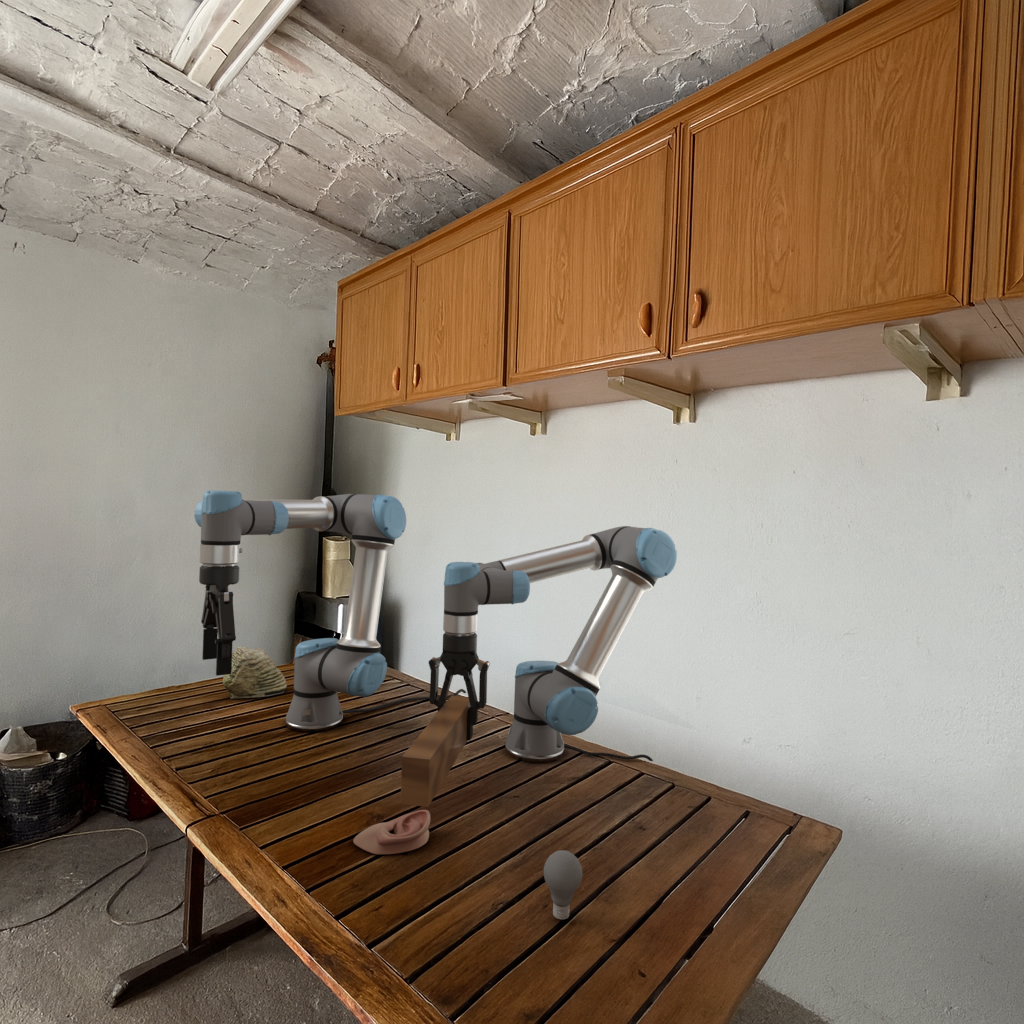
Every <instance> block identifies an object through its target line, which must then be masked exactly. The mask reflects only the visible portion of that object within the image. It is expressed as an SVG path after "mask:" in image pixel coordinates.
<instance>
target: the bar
mask: <svg viewBox="0 0 1024 1024" xmlns="http://www.w3.org/2000/svg"><path fill="white" fill-rule="evenodd" d="M470 707H471V706H470V702H469V697H468V696H461V695H456V696H451V697H450V698H447V700H446V703H445V704H444V705H443V707H442V708H441V709H440V710H439V712H438V711H437V713H436V714H435V715H434V716H433V717H432V719H431V720H430V722H428V724H427V725H426V727H425V728H424V729H423V730H422V731H421V732H420V734H419V735H418V736H417V738H415V740H414V741H413V742H412V744H410V746H409V747H408V748H407V750H406V751H405V752H404V753H403V755H402V756H401V770H400V771H401V773H400V774H401V777H400V805H406V806H415V807H416V806H417V807H424V808H429V806H430V805H431V803H432V801H433V800H434V798H435V796H436V795H437V793H438V791H439V789H440V788H441V786H442V784H443V783H444V781H445V780H446V777H447V776H448V774H449V773H450V771H451V769H452V767H453V766H454V764H455V763H456V761H457V759H458V758H459V756H460V754H461V752H462V751H463V749H464V747H465V746H466V744H467V742H469V740H467V711H468V709H469V708H470Z"/></svg>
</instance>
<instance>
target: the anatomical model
mask: <svg viewBox="0 0 1024 1024" xmlns="http://www.w3.org/2000/svg"><path fill="white" fill-rule="evenodd" d="M430 824H431V813H430V811H429V810H428V809H420V810H419V809H418V810H416V811H412V812H409V813H405V814H403V815H401V816H398V817H396V818H394V819H391V820H389V821H385V822H378V823H375V824H373V825H370V826H369V827H367V828H365V829H364V830H362V831H360V832H359V833H358V834H357V835H355V837H354V838H353V839H352V842H353V844H354V845H355V846H356V847H358V848H360V849H362V850H363V851H365V852H368V853H369V854H374V855H378V856H379V855H393V854H400V853H402V854H403V853H406V852H410V851H413V850H417V849H419V848H421V847H422V846H424V845H426V844H427V842H428V841H429V838H430V830H429V827H430Z"/></svg>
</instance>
